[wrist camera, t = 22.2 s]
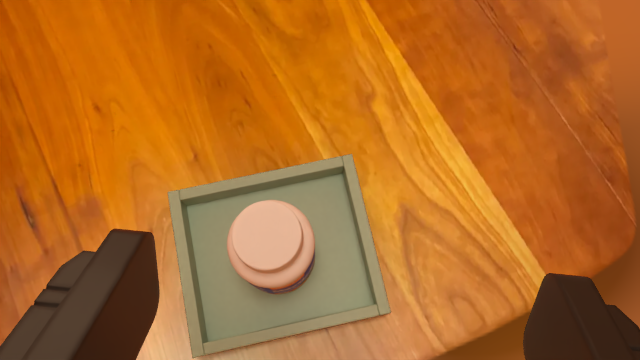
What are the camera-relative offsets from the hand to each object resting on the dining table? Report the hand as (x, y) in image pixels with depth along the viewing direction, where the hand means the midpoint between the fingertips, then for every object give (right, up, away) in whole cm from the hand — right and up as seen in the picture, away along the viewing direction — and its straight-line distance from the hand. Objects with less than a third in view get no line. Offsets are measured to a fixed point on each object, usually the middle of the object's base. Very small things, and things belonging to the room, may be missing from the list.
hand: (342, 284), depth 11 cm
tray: (-4, -3, +29) cm, 29 cm away
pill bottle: (-4, -4, +28) cm, 29 cm away
